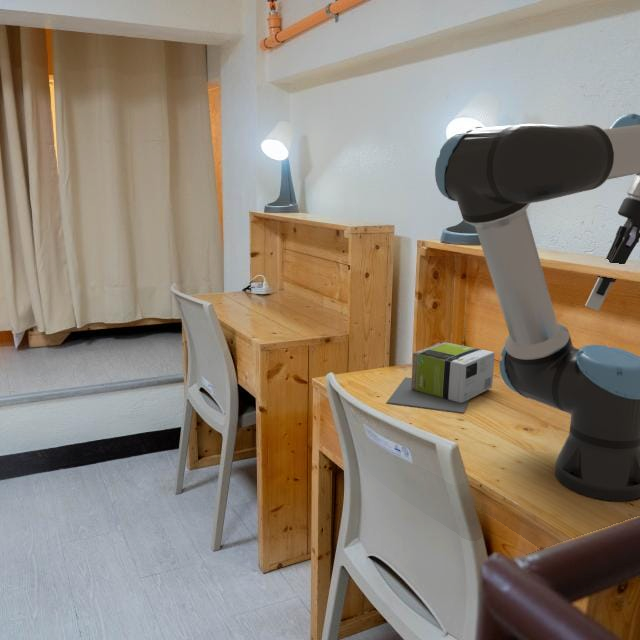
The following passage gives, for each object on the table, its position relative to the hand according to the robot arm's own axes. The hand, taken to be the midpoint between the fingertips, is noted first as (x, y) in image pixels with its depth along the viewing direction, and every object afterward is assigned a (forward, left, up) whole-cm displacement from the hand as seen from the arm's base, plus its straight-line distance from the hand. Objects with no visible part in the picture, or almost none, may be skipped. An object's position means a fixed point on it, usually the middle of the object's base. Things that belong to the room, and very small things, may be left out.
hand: (591, 307), depth 134 cm
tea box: (+6, +23, -20) cm, 31 cm away
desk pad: (+5, +34, -25) cm, 42 cm away
